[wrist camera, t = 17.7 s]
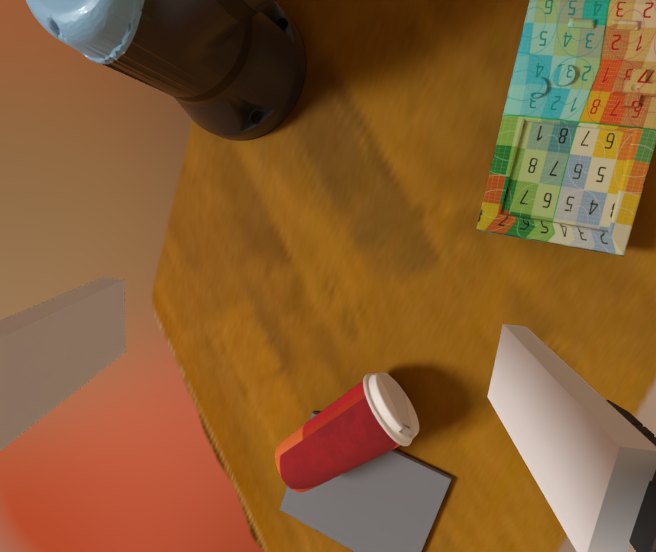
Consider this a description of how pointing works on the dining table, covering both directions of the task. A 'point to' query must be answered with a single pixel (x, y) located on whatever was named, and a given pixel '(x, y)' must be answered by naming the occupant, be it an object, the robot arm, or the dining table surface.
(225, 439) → the dining table surface
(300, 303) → the dining table surface
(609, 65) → the puzzle game
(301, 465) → the paper cup
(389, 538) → the mat
